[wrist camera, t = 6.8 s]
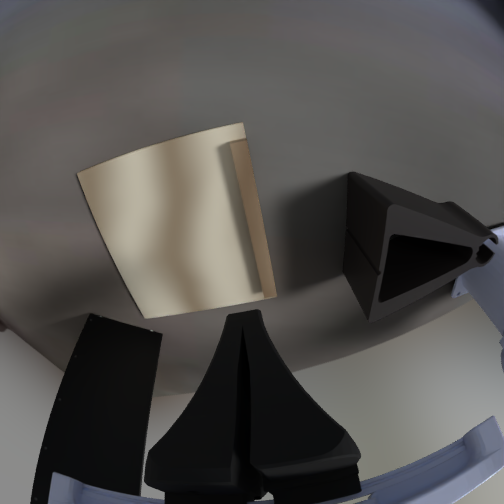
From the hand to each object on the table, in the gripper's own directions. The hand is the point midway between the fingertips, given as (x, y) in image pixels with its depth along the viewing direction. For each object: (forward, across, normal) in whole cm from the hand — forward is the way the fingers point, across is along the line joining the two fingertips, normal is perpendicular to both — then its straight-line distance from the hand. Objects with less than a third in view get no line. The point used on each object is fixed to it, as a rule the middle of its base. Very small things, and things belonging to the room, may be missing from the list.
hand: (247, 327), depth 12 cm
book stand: (+10, +4, 0) cm, 11 cm away
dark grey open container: (+7, -8, +2) cm, 10 cm away
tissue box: (+10, +15, +11) cm, 21 cm away
